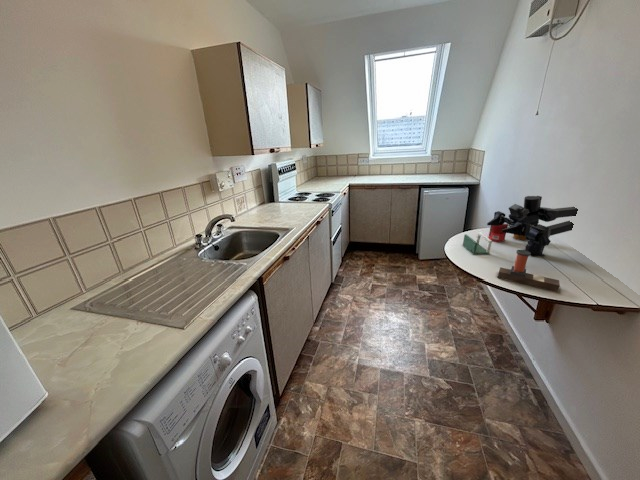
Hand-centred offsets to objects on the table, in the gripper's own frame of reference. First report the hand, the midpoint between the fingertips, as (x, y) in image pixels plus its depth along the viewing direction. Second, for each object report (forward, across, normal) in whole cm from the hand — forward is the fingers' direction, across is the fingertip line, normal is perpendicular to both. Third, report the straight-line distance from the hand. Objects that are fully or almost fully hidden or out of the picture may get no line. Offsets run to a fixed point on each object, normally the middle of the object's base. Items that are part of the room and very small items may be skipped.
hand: (494, 227), depth 126 cm
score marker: (+5, +21, +12) cm, 25 cm away
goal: (+2, -10, +17) cm, 19 cm away
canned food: (-18, -19, +21) cm, 34 cm away
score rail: (+4, +24, +15) cm, 28 cm away
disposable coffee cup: (-32, -17, +23) cm, 43 cm away
